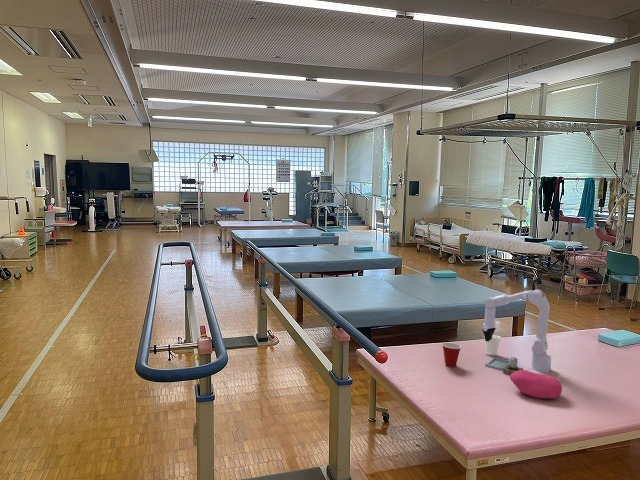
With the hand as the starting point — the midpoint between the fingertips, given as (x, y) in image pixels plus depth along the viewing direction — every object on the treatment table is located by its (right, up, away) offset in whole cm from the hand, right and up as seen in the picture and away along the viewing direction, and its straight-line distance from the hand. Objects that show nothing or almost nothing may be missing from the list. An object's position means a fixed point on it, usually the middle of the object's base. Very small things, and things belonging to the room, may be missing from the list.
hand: (488, 340), depth 275 cm
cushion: (+7, -16, -47) cm, 50 cm away
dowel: (+5, -13, -23) cm, 27 cm away
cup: (+4, -10, +6) cm, 12 cm away
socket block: (+5, -13, -23) cm, 27 cm away
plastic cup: (-25, -12, -12) cm, 30 cm away
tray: (+2, -12, -11) cm, 17 cm away
